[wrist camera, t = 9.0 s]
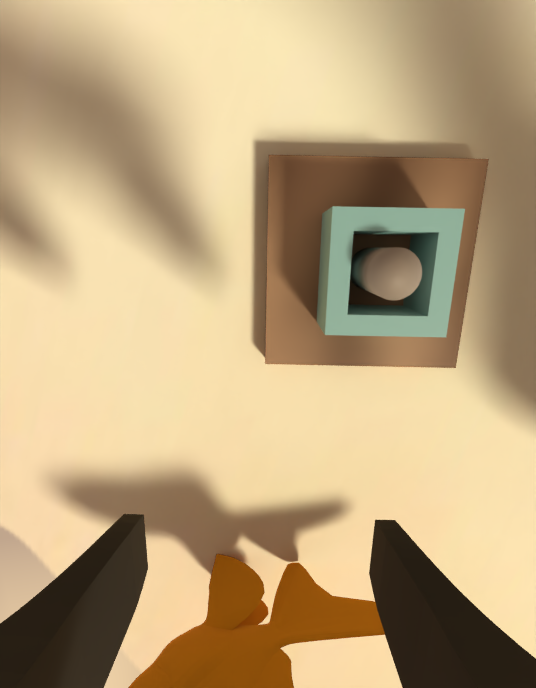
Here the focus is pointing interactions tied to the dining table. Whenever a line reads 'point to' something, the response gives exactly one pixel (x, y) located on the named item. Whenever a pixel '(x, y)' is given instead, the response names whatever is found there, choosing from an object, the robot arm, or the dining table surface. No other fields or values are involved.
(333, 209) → the collar
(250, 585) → the toy
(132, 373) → the dining table surface
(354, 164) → the post block
